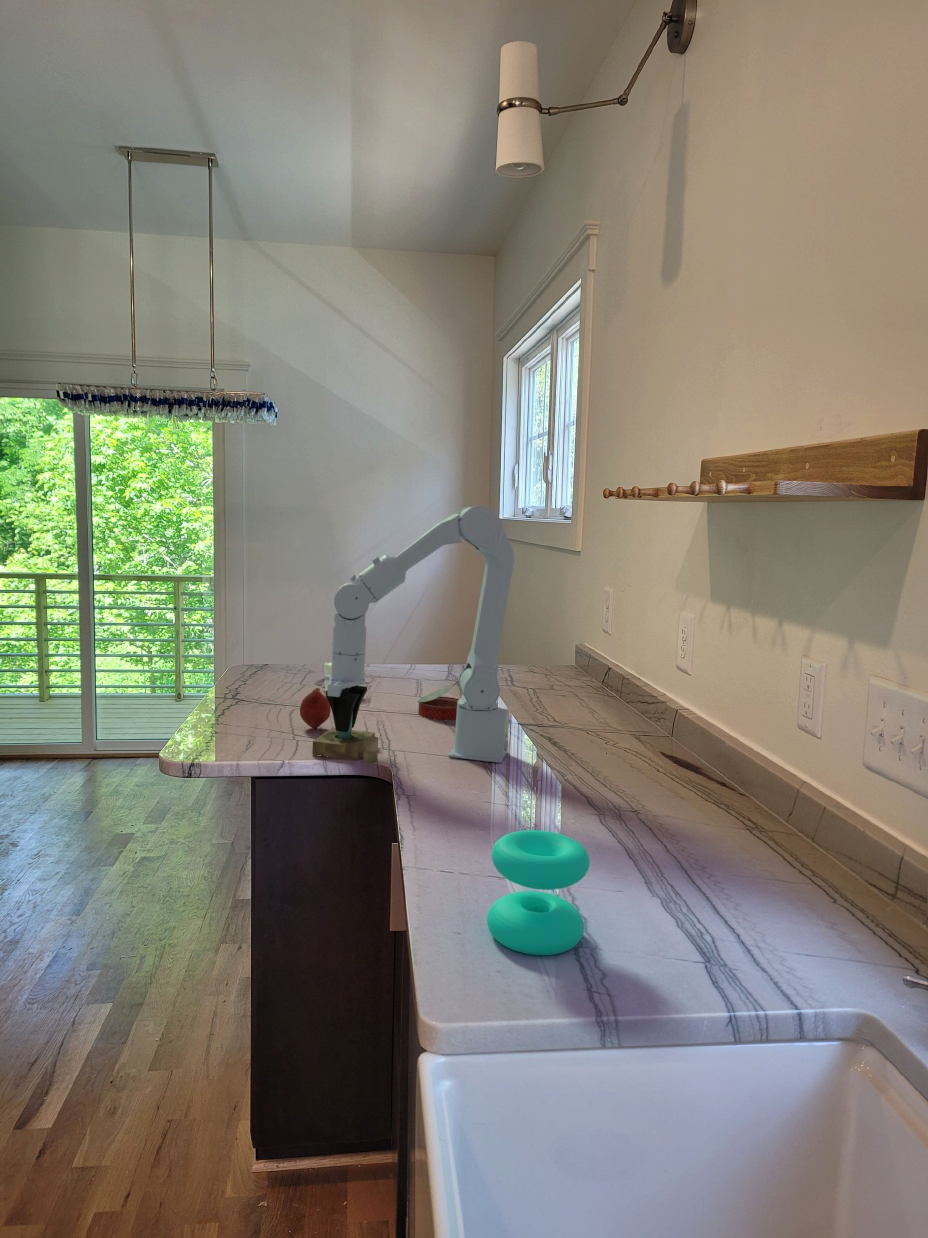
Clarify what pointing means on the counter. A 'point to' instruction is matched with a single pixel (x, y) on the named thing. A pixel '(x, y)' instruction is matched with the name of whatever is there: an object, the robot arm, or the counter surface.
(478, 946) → the counter surface
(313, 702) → the onion
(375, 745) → the short dowel
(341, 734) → the long dowel
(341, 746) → the board
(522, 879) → the donuts
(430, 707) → the canned food
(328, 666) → the white short cylinder
